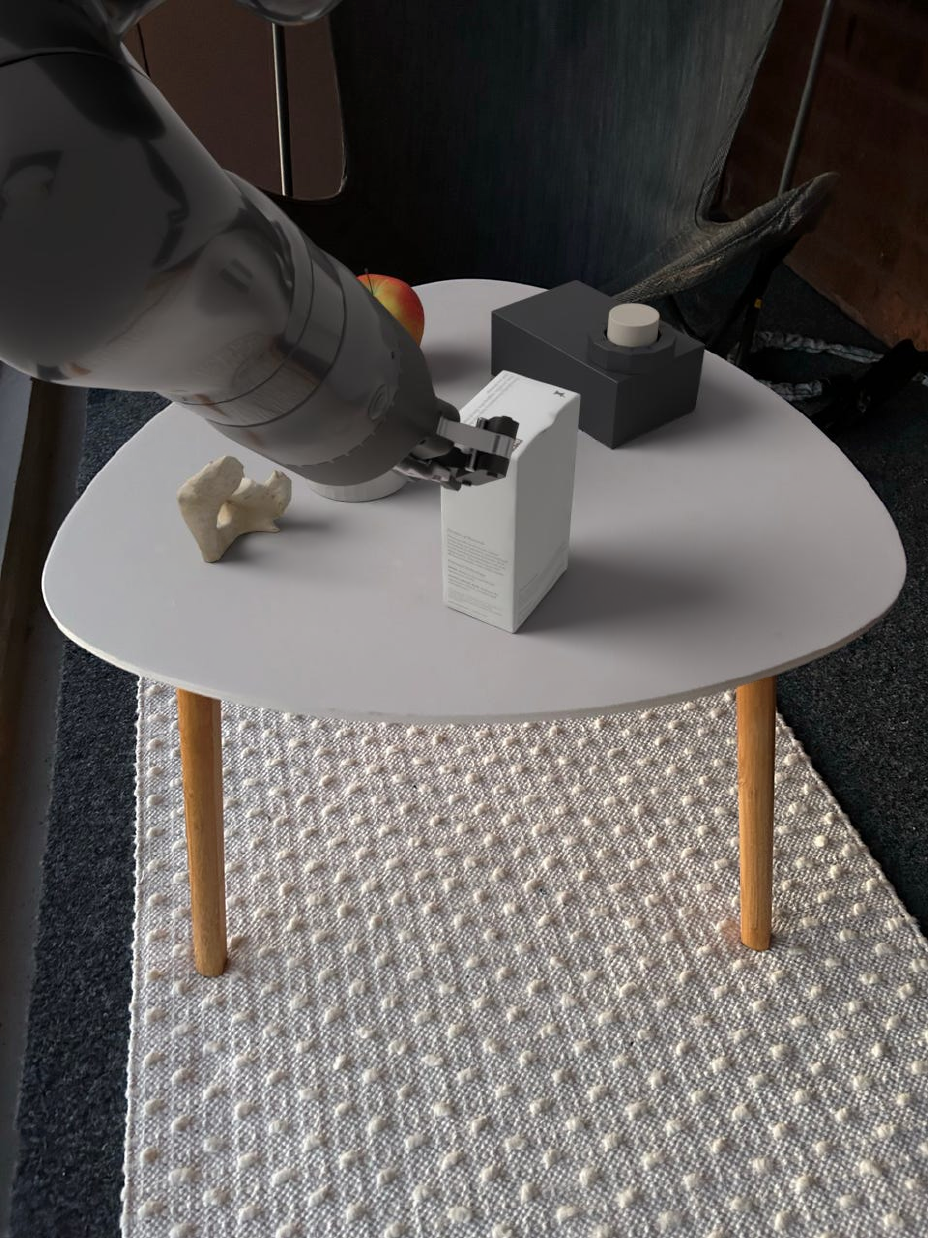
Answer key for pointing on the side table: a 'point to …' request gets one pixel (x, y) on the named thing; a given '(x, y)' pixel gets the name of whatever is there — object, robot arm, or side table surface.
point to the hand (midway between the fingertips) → (437, 466)
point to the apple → (398, 301)
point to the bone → (230, 504)
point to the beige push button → (633, 325)
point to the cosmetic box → (513, 507)
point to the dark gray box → (597, 361)
